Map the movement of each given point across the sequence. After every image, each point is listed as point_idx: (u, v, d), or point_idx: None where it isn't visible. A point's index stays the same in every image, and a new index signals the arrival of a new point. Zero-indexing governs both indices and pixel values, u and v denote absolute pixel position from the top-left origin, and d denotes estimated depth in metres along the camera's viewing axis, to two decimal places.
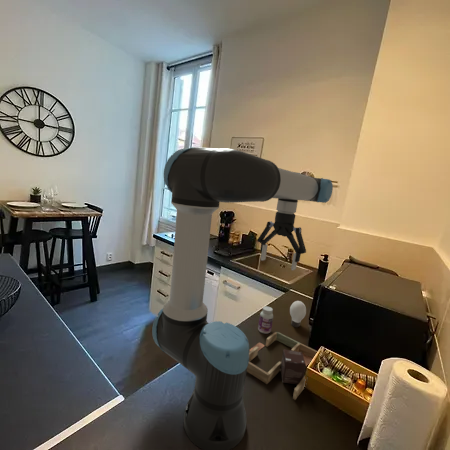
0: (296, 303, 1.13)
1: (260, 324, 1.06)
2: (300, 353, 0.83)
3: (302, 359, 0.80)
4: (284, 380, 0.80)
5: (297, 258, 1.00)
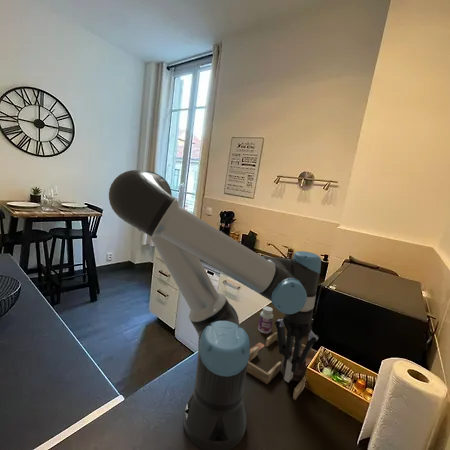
0: None
1: (260, 324, 1.06)
2: (301, 351, 0.85)
3: None
4: None
5: (294, 368, 0.77)
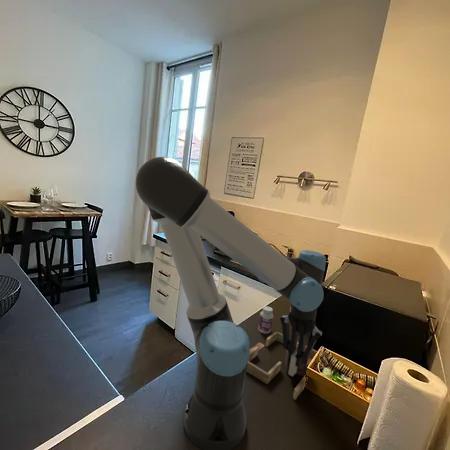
0: None
1: (260, 324, 1.06)
2: None
3: None
4: (288, 371, 0.84)
5: (298, 362, 0.80)
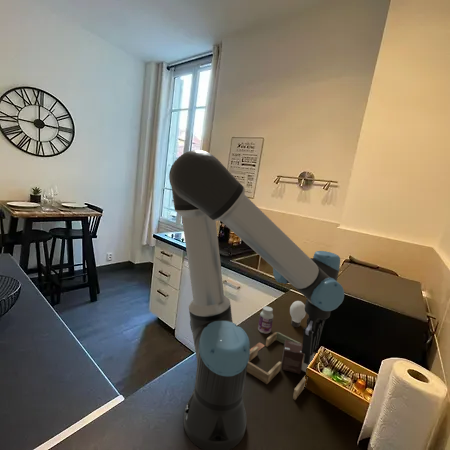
0: (296, 303, 1.13)
1: (260, 324, 1.06)
2: (300, 344, 0.88)
3: (301, 349, 0.85)
4: (283, 367, 0.86)
5: None
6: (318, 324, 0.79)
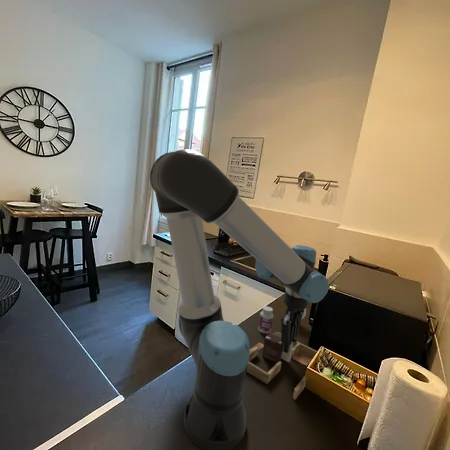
0: None
1: (260, 324, 1.06)
2: None
3: None
4: (263, 355, 0.91)
5: None
6: (296, 314, 0.84)
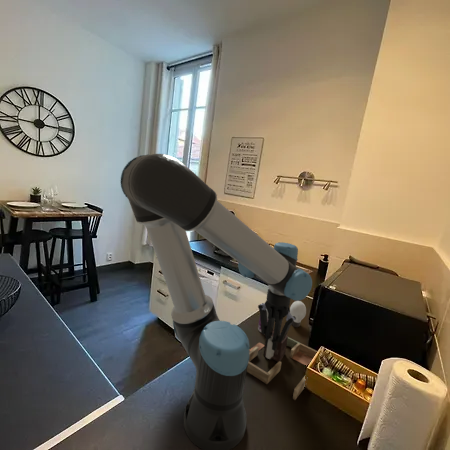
0: (296, 303, 1.13)
1: (260, 324, 1.06)
2: None
3: None
4: (264, 353, 0.92)
5: (274, 346, 0.87)
6: None
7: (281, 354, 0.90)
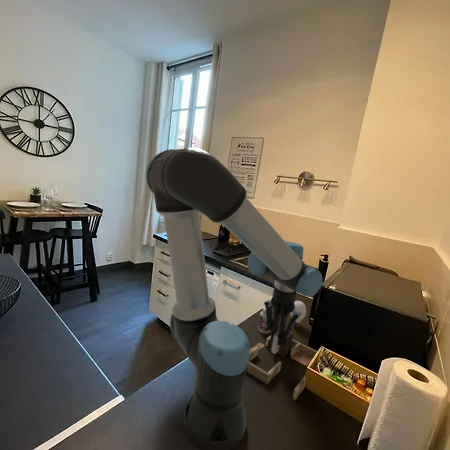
0: (296, 303, 1.13)
1: (260, 324, 1.06)
2: None
3: None
4: (270, 348, 0.95)
5: (280, 341, 0.90)
6: None
7: (286, 349, 0.93)
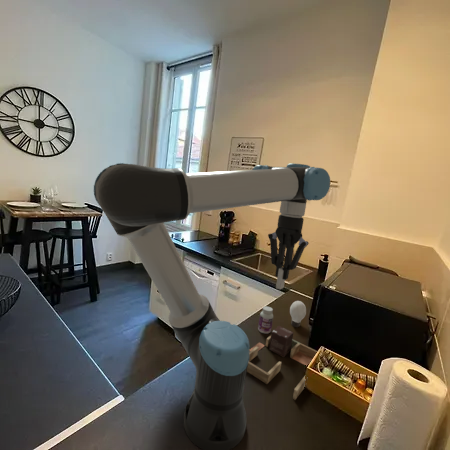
0: (296, 303, 1.13)
1: (260, 324, 1.06)
2: (290, 332, 0.95)
3: (287, 335, 0.93)
4: (270, 348, 0.95)
5: (285, 275, 0.83)
6: None
7: (286, 349, 0.93)
